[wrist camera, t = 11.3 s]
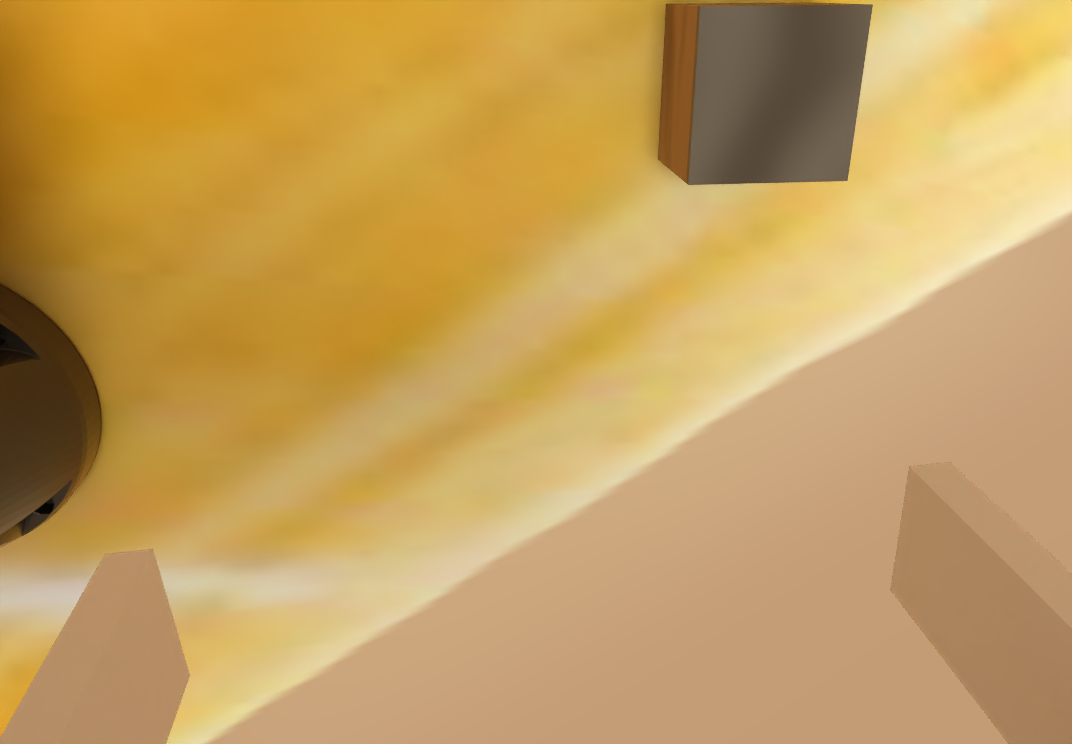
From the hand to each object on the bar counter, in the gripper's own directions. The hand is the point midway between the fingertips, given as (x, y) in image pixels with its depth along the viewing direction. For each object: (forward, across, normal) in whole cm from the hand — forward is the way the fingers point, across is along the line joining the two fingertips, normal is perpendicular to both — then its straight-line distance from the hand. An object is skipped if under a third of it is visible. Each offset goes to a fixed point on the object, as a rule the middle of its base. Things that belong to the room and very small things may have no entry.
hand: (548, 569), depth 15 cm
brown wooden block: (+29, +13, +4) cm, 32 cm away
